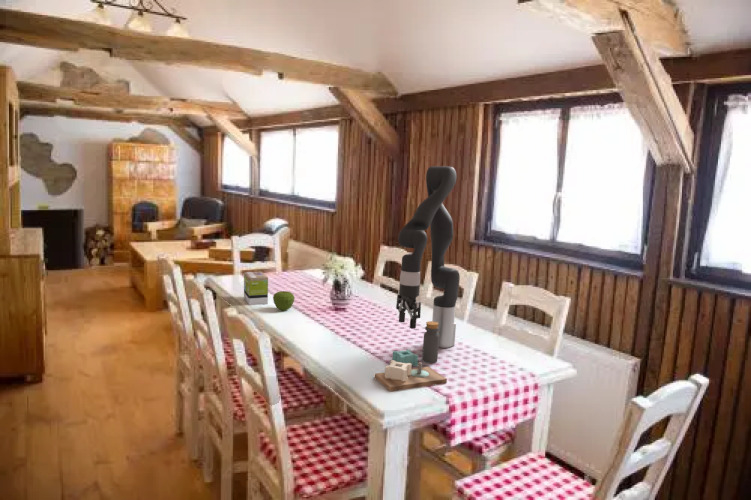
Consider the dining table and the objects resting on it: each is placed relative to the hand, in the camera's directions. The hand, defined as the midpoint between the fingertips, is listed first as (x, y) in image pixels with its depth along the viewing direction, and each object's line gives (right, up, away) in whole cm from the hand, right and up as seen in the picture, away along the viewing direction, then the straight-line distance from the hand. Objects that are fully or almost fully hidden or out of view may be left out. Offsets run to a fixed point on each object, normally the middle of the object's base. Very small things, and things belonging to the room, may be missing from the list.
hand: (407, 325), depth 197 cm
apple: (-58, -2, +68) cm, 89 cm away
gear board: (0, -17, -14) cm, 22 cm away
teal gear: (-1, -15, +2) cm, 15 cm away
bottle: (+9, -15, +7) cm, 19 cm away
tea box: (-75, +1, +82) cm, 111 cm away
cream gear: (-4, -15, -15) cm, 22 cm away
